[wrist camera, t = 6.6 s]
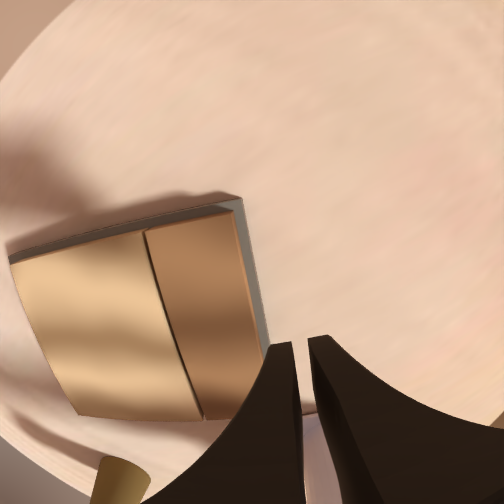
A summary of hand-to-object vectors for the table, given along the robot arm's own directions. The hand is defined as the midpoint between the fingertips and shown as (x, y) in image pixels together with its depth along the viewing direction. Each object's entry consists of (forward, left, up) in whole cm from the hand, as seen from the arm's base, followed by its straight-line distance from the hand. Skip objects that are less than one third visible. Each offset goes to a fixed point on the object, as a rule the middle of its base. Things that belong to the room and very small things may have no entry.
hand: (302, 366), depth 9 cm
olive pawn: (-21, +20, -10) cm, 31 cm away
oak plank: (-2, +12, -8) cm, 15 cm away
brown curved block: (-2, +4, -9) cm, 11 cm away
